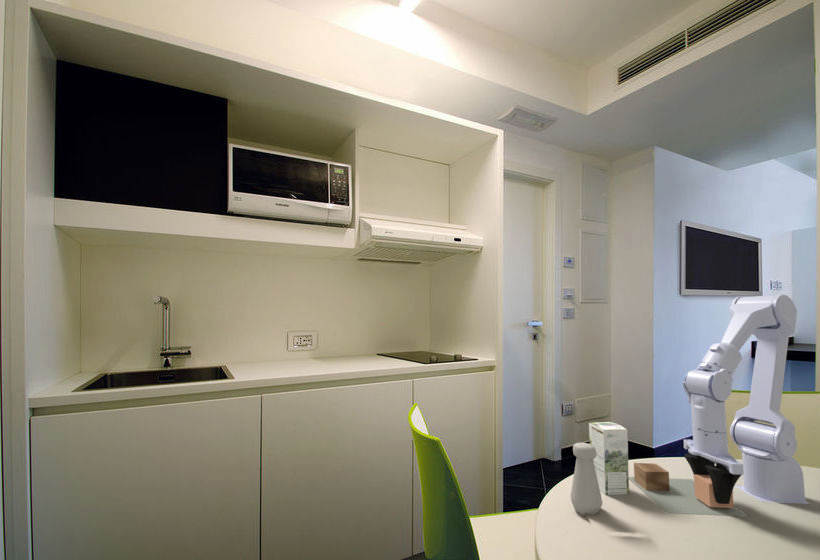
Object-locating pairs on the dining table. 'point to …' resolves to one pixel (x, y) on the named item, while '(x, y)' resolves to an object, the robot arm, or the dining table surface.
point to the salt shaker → (585, 481)
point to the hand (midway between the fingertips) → (713, 497)
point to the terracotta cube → (708, 492)
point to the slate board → (685, 499)
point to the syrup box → (610, 457)
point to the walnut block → (651, 476)
